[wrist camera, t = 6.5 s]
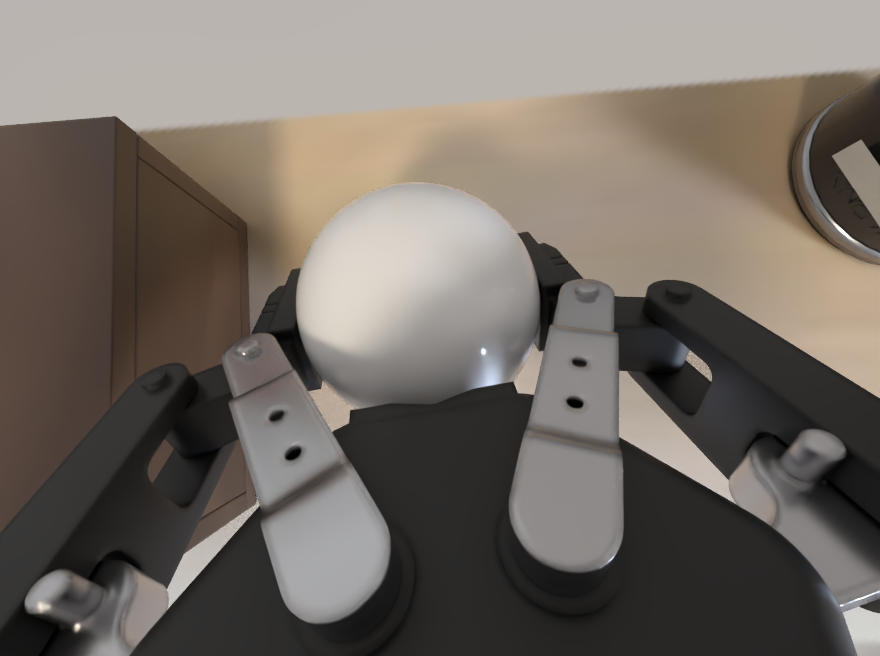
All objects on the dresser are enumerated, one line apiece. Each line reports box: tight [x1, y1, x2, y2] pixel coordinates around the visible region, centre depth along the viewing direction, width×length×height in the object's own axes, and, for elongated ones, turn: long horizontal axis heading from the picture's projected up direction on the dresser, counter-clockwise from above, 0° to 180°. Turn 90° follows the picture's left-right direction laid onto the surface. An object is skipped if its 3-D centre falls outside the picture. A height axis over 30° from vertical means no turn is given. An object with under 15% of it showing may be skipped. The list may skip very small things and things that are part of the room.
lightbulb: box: [296, 182, 540, 409], centre depth 12 cm, size 6×6×11 cm
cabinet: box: [0, 116, 255, 554], centre depth 14 cm, size 14×14×8 cm
